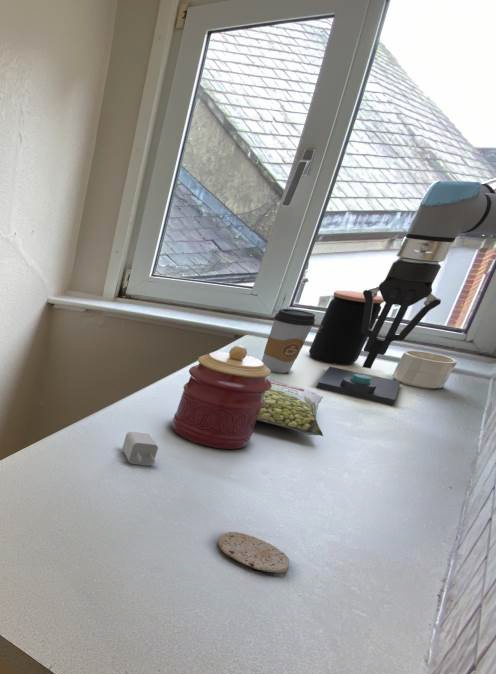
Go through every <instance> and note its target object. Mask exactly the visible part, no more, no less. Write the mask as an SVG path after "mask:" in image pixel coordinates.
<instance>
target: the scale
mask: <svg viewBox="0 0 496 674" xmlns="http://www.w3.org/2000/svg"><path fill="white" fill-rule="evenodd" d="M354 374H362V375H366V376H369V377H371V380H370V382H369V385H364V384H358V383H355V382H352V381H351V380H352V377H353V375H354ZM400 386H401V382H400V381H397V380H396V379H390V378H386V377H381V376H377V375H371V374H367V373H362V372H357V371H353V370H348V369H344V368H339V367H334V366H328V368H327V369H326V371H325V372H324V374H323V375H322V377H321V378H320V379H319V381H318V382H317V384H316V388H317V389H320V390H325V391H330V392H334V393H338V394H342V395H345V396H351V397H355V398H358V399H359V398H360V399H362V400H363V399H364V400H368V401H372V402H376V403H381V404H385V405H389V406H394V404H395V402H396V399H397V397H398V393H399V389H400Z"/></svg>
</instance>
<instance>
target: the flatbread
mask: <svg viewBox="0 0 496 674" xmlns="http://www.w3.org/2000/svg"><path fill="white" fill-rule="evenodd" d="M217 543H218V545H219V548H220V550H221V551H222V552H223V554H225V555H227V557H230V558H231V559H233V560H235V561H236V562H239V563H240V564H242V565H245V566H247V567H250V568H252V569H255V570H259V571H263V572H269V573H280V574H281V573H282V574H283V573H287V572H288V568H289V567H290V559H289V557H288V555H287V554H286V553H285V552H283V551H281V550H280V549H279V548H277V547H276V546H274V545H272V544H271V543H269V542H266V541H264V540H262V539H260V538H258V537H255V536H253V535H250V534H246V533H243V532H237V531H236V532H235V531H227V532H226V533H223V534H222V535H220V536H219V537H218V539H217Z"/></svg>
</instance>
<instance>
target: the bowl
mask: <svg viewBox="0 0 496 674" xmlns="http://www.w3.org/2000/svg"><path fill="white" fill-rule="evenodd" d="M457 364H458V360H457V359H455V358H453V357H450V356H447V355H443V354H440V353H435V352H429V351H423V350H415V349H414V350H412V349H407V350H404V351H403V353H402V355H401V356H400V359H399V361H398V363H397V364H396V367H395V369H394V370H393V372H392V375H391V377H392V378H394V380H396V381H400V382H401V383H402V384H403V385H404V384H405V385H408V386H412V387H415V388H421V389H430V390H431V389H432V390H433V389H441V388H444V387H445V385H446V383H447V382H448V380H449V378H450V376H451V374H452V372H453V371H454V368H455V367H456V366H457ZM401 383H400V384H401Z"/></svg>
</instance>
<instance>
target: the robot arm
mask: <svg viewBox="0 0 496 674" xmlns="http://www.w3.org/2000/svg"><path fill="white" fill-rule="evenodd" d="M459 234H475V235H490V236H496V177H495V178H493V179H489V180H487V181H484V182H479V181H464V180H436V181H434V182H432V183H431V184H430V186H429V187H428V188H427V190H426V192H425V194H424V195H423V197H422V199H421V201H420V202H419V204H418V208H417V209H416V212H415V214H414V217H413V219H412V221H411V224H410V225H409V228H408V230H407V232H406V235H405V237H403V241H402V242H401V244H400V246H399V249H398V251H397V253H396V257H397V259H395V260H393V262H392V264H391V266H390V268H389V270H388V272H387V274H386V277H385V278H384V280H383V281H381V282H380V283H379V285H377V286H374V287H372V288H365V289H364V290H363V291H362V293H363V295H364V298H365V308H364V315H363V322H362V329H361V333H362V334H365V335H367V336H368V338H367V340H366V342H365V344H364V346H363V352H365V353H368V354H367V356H366V358H365V360H364V362H363V363H362V366H361V368H365V369H369V370H371V369H372V367H373V365H374V362H375V361H376V358H377V356H378V355H380V356H384V355H385V354H386V353H387V351H388V349H389V347H390V345H391V343H392V342H396V341H404V340H405V339H406V337H407V336H408V335H410V333H411V332H412V331H413V330H414V329H415V327H416V326H417V325H418V324H419V323H420V322H421V321H422V320H423V318H424V317H425V316H426V315H427V314H428V313H429V312H430V311H431V310H433V309H434V308H436V307H438V306H439V305H441V304H442V300H441V298H438V297H436V295H434V294H433V284H434V282H435V280H436V278H437V276H438V274H439V272H440V270H441V268H442V266H441V264H440V263H442V262H444V261H445V260H446V258H447V257H448V255H449V252H450V251H451V248H452V247H453V244H454V242H455V241H456V238H457V237H458V235H459ZM378 292H379V293H380V296H382V297H383V300H384V302H383V303H384V306H383V307H382V309H381V311H380V313H379V315H378V317H377V319H376V321H375V323H374V325H373V327H372V329H370V322H371V315H372V308H373V302H374V297H376V296H377V295H378ZM424 299H425V300H424ZM422 300H424V301H423V305H424V306H422V307H421V308H420V310H419V311H418V312H417V313H416V314H415V315H414V316H413V318H411V320H410V321H409V322H408V323H407V324H406V325H405V326H404V327H403V329H402V330H401V331H400V332H399V333H397V331H398V330H399V327H400V325H401V323H402V321H403V319H404V317H405V314H406V312H407V310H408V308H409V307H411V306H413V305H415V304H417V303H418V302H420V301H422ZM393 305H397V306H400V307H399V308H398V311H397V313H396V315H395V317H394V319H393V321H392V323H391V325H390V327H389V329H388V331H387V333H386V336H385V337H384V338H382V337H378V336H379V334H380V331H381V330H382V327H383V325H384V323H385V321H386V319H387V317H388V315H389V313H390V311H391V309H392V307H393Z"/></svg>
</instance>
